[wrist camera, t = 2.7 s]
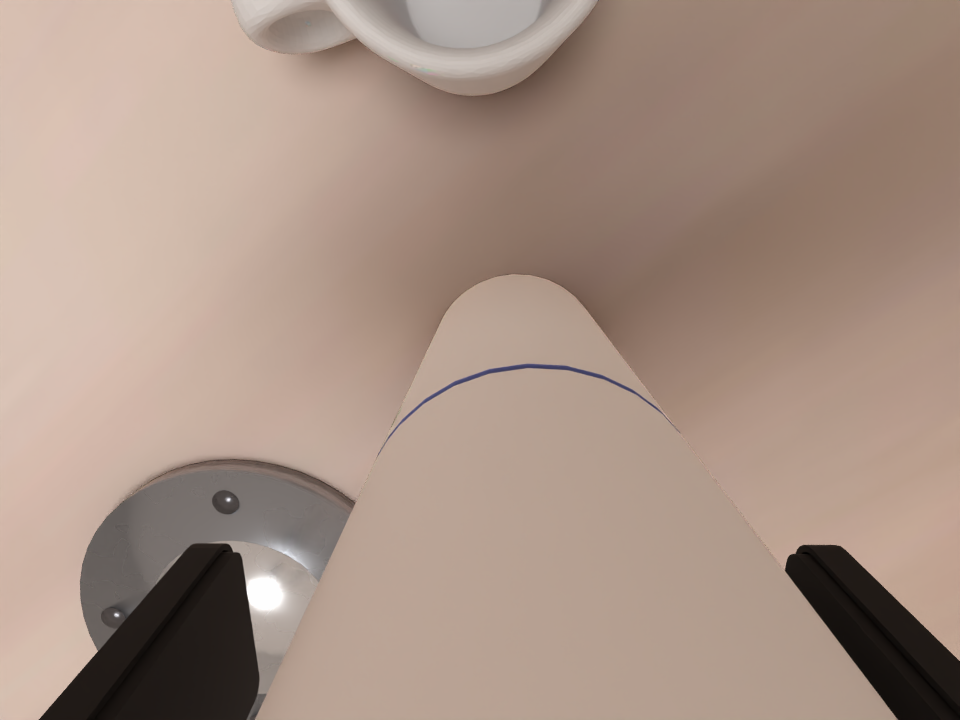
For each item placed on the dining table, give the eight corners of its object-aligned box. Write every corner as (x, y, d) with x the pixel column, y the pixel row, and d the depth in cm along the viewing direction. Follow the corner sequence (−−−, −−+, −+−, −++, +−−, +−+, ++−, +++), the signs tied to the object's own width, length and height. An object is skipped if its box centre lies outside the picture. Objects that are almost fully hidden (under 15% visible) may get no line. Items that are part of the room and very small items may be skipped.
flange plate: (405, 461, 25) (400, 474, 24) (418, 728, 30) (415, 750, 29) (65, 457, 26) (44, 470, 24) (130, 720, 30) (115, 741, 29)
